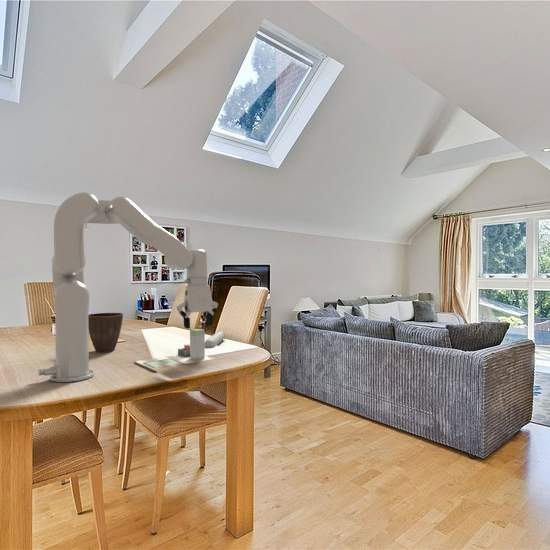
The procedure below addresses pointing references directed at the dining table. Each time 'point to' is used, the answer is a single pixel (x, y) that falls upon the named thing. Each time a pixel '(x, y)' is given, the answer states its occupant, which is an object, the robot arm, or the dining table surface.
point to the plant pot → (104, 330)
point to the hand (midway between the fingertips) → (198, 326)
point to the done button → (186, 347)
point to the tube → (215, 339)
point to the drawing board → (169, 361)
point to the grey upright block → (197, 344)
